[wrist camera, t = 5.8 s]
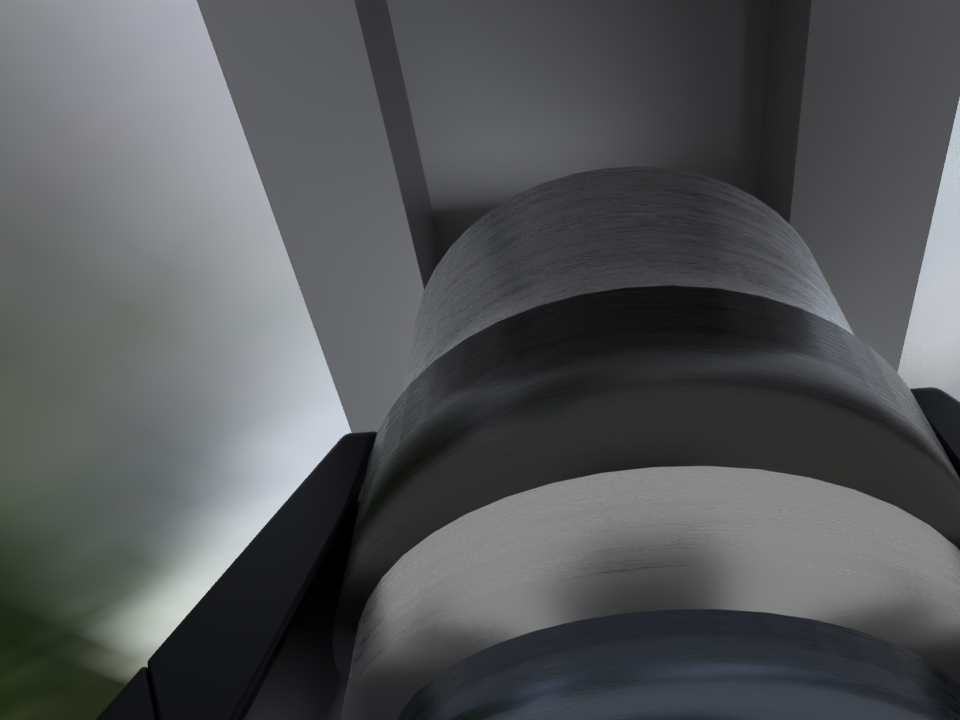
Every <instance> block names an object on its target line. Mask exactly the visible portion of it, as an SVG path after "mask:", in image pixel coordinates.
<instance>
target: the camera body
mask: <svg viewBox="0 0 960 720" xmlns="http://www.w3.org/2000/svg"><path fill="white" fill-rule="evenodd" d="M197 2H198V5H199V8H200V11H201V13H202V16H203V19H204V22H205V24H206V27H207V30H208V33H209V36H210V38H211V41H212V44H213V47H214V50H215V52H216V55H217V58H218V61H219V64H220V66H221V69H222V72H223V75H224V77H225V80H226V83H227V86H228V89H229V91H230V94H231V97H232V100H233V103H234V105H235V108H236V111H237V114H238V116H239V119H240V122H241V125H242V128H243V130H244V133H245V136H246V139H247V142H248V144H249V147H250V150H251V153H252V155H253V158H254V161H255V164H256V167H257V169H258V172H259V175H260V178H261V181H262V183H263V186H264V189H265V192H266V194H267V197H268V200H269V203H270V206H271V208H272V211H273V214H274V217H275V220H276V222H277V225H278V228H279V231H280V234H281V236H282V239H283V242H284V245H285V247H286V250H287V253H288V256H289V259H290V261H291V264H292V267H293V270H294V273H295V275H296V278H297V281H298V284H299V286H300V289H301V292H302V295H303V298H304V300H305V303H306V306H307V309H308V312H309V314H310V317H311V320H312V323H313V325H314V328H315V331H316V334H317V337H318V339H319V342H320V345H321V348H322V351H323V353H324V356H325V359H326V362H327V364H328V367H329V370H330V373H331V376H332V378H333V381H334V384H335V387H336V390H337V392H338V395H339V398H340V401H341V404H342V406H343V409H344V412H345V415H346V417H347V420H348V423H349V426H350V429H351V431H352V433H358V432H371V431H375V432H378V431H379V429H380V427H381V426H382V424H383V422H384V420H385V418H386V416H387V414H388V413H389V411H390V409H391V407H392V406H393V405H394V404H395V402H396V401H397V400H398V398H399V397H400V396H401V395H402V392H403V387H404V381H405V376H406V371H407V365H408V360H409V355H410V350H411V344H412V339H413V334H414V329H415V323H416V318H417V313H418V308H419V305H420V302H421V299H422V296H423V293H424V290H425V287H426V285H427V283H428V281H429V280H430V278H431V276H432V274H433V272H434V270H435V268H436V266H437V265H438V263H439V262H440V261H441V259H442V258H443V256H444V255H445V254H446V252H447V251H448V250H449V248H450V247H451V246H452V245H453V244H454V243H455V242H456V240H457V239H458V238H459V237H460V236H461V235H462V234H463V233H464V232H465V231H466V230H467V229H468V228H469V227H470V226H472V225H473V224H474V223H475V222H477V221H478V220H479V219H480V218H482V217H483V216H484V215H485V214H487V213H488V212H489V211H490V210H492V209H494V208H495V207H497V206H499V205H500V204H502V203H504V202H505V201H507V200H509V199H510V198H512V197H514V196H515V195H517V194H520V193H522V192H524V191H527V190H529V189H531V188H533V187H536V186H538V185H540V184H542V183H545V182H548V181H552V180H555V179H558V178H561V177H565V176H568V175H571V174H575V173H581V172H586V171H592V170H597V169H603V168H615V167H632V166H641V167H657V168H670V169H675V170H681V171H686V172H691V173H697V174H701V175H704V176H707V177H710V178H713V179H716V180H719V181H722V182H725V183H728V184H730V185H732V186H734V187H736V188H738V189H740V190H742V191H744V192H746V193H748V194H750V195H752V196H754V197H755V198H757V199H758V200H760V201H761V202H763V203H764V204H766V205H767V206H769V207H770V208H772V209H773V210H774V211H776V212H777V213H778V214H779V215H780V216H781V217H782V218H783V219H784V220H785V221H786V222H787V223H788V224H790V225H791V226H792V227H793V228H794V229H795V231H796V232H797V233H798V235H799V236H800V237H801V238H802V240H803V241H804V242H805V244H806V245H807V246H808V248H809V249H810V251H811V253H812V255H813V257H814V259H815V261H816V263H817V265H818V267H819V268H820V270H821V272H822V274H823V276H824V278H825V280H826V282H827V284H828V286H829V288H830V290H831V292H832V293H833V295H834V297H835V299H836V301H837V303H838V305H839V307H840V309H841V311H842V313H843V315H844V317H845V319H846V320H847V322H848V324H849V326H850V328H851V330H852V332H853V334H854V336H856V337H857V338H859V339H860V340H862V341H863V342H865V343H866V344H868V345H869V346H870V347H871V348H872V349H873V350H875V351H876V352H877V353H878V354H879V355H880V356H881V357H882V358H883V359H884V360H886V361H887V362H888V363H889V364H890V365H891V366H892V367H893V368H894V369H895V371H896V372H898V367H899V363H900V358H901V354H902V349H903V345H904V340H905V336H906V332H907V327H908V323H909V318H910V314H911V309H912V305H913V301H914V296H915V292H916V287H917V283H918V278H919V274H920V270H921V265H922V261H923V256H924V252H925V247H926V243H927V238H928V234H929V230H930V225H931V221H932V216H933V212H934V207H935V203H936V199H937V194H938V190H939V185H940V181H941V176H942V172H943V168H944V163H945V159H946V154H947V150H948V145H949V141H950V136H951V132H952V128H953V123H954V119H955V114H956V110H957V105H958V101H959V97H960V0H197Z"/></svg>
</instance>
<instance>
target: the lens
mask: <svg viewBox="0 0 960 720" xmlns="http://www.w3.org/2000/svg"><path fill="white" fill-rule="evenodd" d="M332 644H333V651H334V658H335V665H336V668H337V670H338V673H339V676H340V678H341V681H342V683H343V686H344V688H345V689H346V693H345V698H344V703H343V709H342V714H341V720H960V478H959V476H958V474H957V472H956V471H955V469H954V467H953V465H952V463H951V462H950V460H949V458H948V456H947V454H946V453H945V451H944V449H943V447H942V446H941V444H940V442H939V440H938V438H937V437H936V435H935V433H934V431H933V429H932V428H931V426H930V424H929V422H928V421H927V419H926V417H925V415H924V413H923V412H922V410H921V408H920V406H919V404H918V403H917V401H916V399H915V397H914V396H913V394H912V392H911V390H910V389H909V388H908V387H907V385H906V384H905V383H904V381H903V380H902V379H901V377H900V376H899V375H898V373H897V372H896V371H895V369H894V368H893V367H892V366H891V365H890V364H889V363H888V362H887V361H886V360H884V359H883V358H882V357H881V356H880V355H879V354H878V353H877V352H876V351H875V350H873V349H872V348H871V347H870V346H869V345H868V344H866V343H865V342H863V341H862V340H860V339H859V338H857V337H856V336H854V334H853V332H852V330H851V328H850V326H849V324H848V322H847V320H846V319H845V317H844V315H843V313H842V311H841V309H840V307H839V305H838V303H837V301H836V299H835V297H834V295H833V293H832V292H831V290H830V288H829V286H828V284H827V282H826V280H825V278H824V276H823V274H822V272H821V270H820V268H819V267H818V265H817V263H816V261H815V259H814V257H813V255H812V253H811V251H810V249H809V248H808V246H807V245H806V244H805V242H804V241H803V240H802V238H801V237H800V236H799V235H798V233H797V232H796V231H795V229H794V228H793V227H792V226H791V225H790V224H788V223H787V222H786V221H785V220H784V219H783V218H782V217H781V216H780V215H779V214H778V213H777V212H776V211H774V210H773V209H772V208H770V207H769V206H767V205H766V204H764V203H763V202H761V201H760V200H758V199H757V198H755V197H754V196H752V195H750V194H748V193H746V192H744V191H742V190H740V189H738V188H736V187H734V186H732V185H730V184H728V183H725V182H722V181H719V180H716V179H713V178H710V177H707V176H704V175H701V174H697V173H691V172H686V171H681V170H675V169H670V168H657V167H641V166H632V167H615V168H603V169H597V170H592V171H586V172H581V173H575V174H571V175H568V176H565V177H561V178H558V179H555V180H552V181H548V182H545V183H542V184H540V185H538V186H536V187H533V188H531V189H529V190H527V191H524V192H522V193H520V194H517V195H515V196H514V197H512V198H510V199H509V200H507V201H505V202H504V203H502V204H500V205H499V206H497V207H495V208H494V209H492V210H490V211H489V212H488V213H487V214H485V215H484V216H483V217H482V218H480V219H479V220H478V221H477V222H475V223H474V224H473V225H472V226H470V227H469V228H468V229H467V230H466V231H465V232H464V233H463V234H462V235H461V236H460V237H459V238H458V239H457V240H456V242H455V243H454V244H453V245H452V246H451V247H450V248H449V250H448V251H447V252H446V254H445V255H444V256H443V258H442V259H441V261H440V262H439V263H438V265H437V266H436V268H435V270H434V272H433V274H432V276H431V278H430V280H429V281H428V283H427V285H426V287H425V290H424V293H423V296H422V299H421V302H420V305H419V308H418V313H417V318H416V323H415V329H414V334H413V339H412V344H411V350H410V355H409V360H408V365H407V371H406V376H405V381H404V387H403V392H402V395H401V396H400V397H399V398H398V400H397V401H396V402H395V404H394V405H393V406H392V407H391V409H390V411H389V413H388V414H387V416H386V418H385V420H384V422H383V424H382V426H381V427H380V429H379V431H378V433H377V436H376V439H375V442H374V445H373V448H372V451H371V454H370V458H369V462H368V467H367V471H366V476H365V481H364V485H363V490H362V494H361V499H360V504H359V508H358V513H357V517H356V522H355V527H354V531H353V536H352V540H351V545H350V550H349V554H348V559H347V563H346V568H345V573H344V577H343V582H342V586H341V591H340V596H339V600H338V605H337V609H336V614H335V620H334V629H333V639H332Z"/></svg>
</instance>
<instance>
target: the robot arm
mask: <svg viewBox="0 0 960 720" xmlns="http://www.w3.org/2000/svg"><path fill="white" fill-rule="evenodd" d="M910 390H911V392H912V394H913V396H914V397H915V399H916V401H917V403H918V404H919V406H920V408H921V410H922V412H923V413H924V415H925V417H926V419H927V421H928V422H929V424H930V426H931V428H932V429H933V431H934V433H935V435H936V437H937V438H938V440H939V442H940V444H941V446H942V447H943V449H944V451H945V453H946V454H947V456H948V458H949V460H950V462H951V463H952V465H953V467H954V469H955V471H956V472H957V474H958V476H959V478H960V402H959V401H958V400H956V399H955V398H953V397H952V396H950V395H949V394H947V393H946V392H944V391H942V390H940V389H938V388H932V387H928V388H915V389H910ZM377 433H378V432H375V431H371V432H358V433H349V434H346V435H345V436H343V437H342V438H341V439H340V440H339V441H338V442H337V444H336V445H335V446H334V447H333V448H332V449H331V450H330V452H329V453H328V454H327V455H326V456H325V457H324V459H323V460H322V461H321V462H320V463H319V464H318V465H317V467H316V468H315V469H314V470H313V471H312V472H311V474H310V475H309V476H308V477H307V478H306V479H305V480H304V482H303V483H302V484H301V485H300V486H299V487H298V488H297V490H296V491H295V492H294V493H293V494H292V495H291V497H290V498H289V499H288V500H287V501H286V502H285V503H284V505H283V506H282V507H281V508H280V509H279V510H278V512H277V513H276V514H275V515H274V516H273V517H272V518H271V520H270V521H269V522H268V523H267V524H266V525H265V526H264V528H263V529H262V530H261V531H260V532H259V533H258V535H257V536H256V537H255V538H254V539H253V540H252V541H251V543H250V544H249V545H248V546H247V547H246V548H245V549H244V551H243V552H242V553H241V554H240V555H239V556H238V558H237V559H236V560H235V561H234V562H233V563H232V564H231V566H230V567H229V568H228V569H227V570H226V571H225V573H224V574H223V575H222V576H221V577H220V578H219V579H218V581H217V582H216V583H215V584H214V585H213V586H212V587H211V589H210V590H209V591H208V592H207V593H206V594H205V596H204V597H203V598H202V599H201V600H200V601H199V602H198V604H197V605H196V606H195V607H194V608H193V609H192V611H191V612H190V613H189V614H188V615H187V616H186V617H185V619H184V620H183V621H182V622H181V623H180V624H179V625H178V627H177V628H176V629H175V630H174V631H173V632H172V634H171V635H170V636H169V637H168V638H167V639H166V640H165V642H164V643H163V644H162V645H161V646H160V647H159V649H158V650H157V651H156V652H155V653H154V654H153V655H152V657H151V658H150V659H149V660H148V667H142V668H141V669H140V670H139V671H138V672H137V673H136V675H135V676H134V677H133V678H132V679H131V680H130V682H129V683H128V684H127V685H126V686H125V687H124V688H123V690H122V691H121V692H120V693H119V694H118V695H117V696H116V698H115V699H114V700H113V701H112V702H111V703H110V704H109V705H108V706H107V707H106V709H105V710H104V711H103V712H102V713H101V714H100V715H99V716H98V717H97V719H96V720H341V714H342V709H343V703H344V698H345V693H346V689H345V688H344V686H343V683H342V681H341V678H340V676H339V673H338V670H337V668H336V665H335V658H334V651H333V644H332V639H333V629H334V620H335V614H336V609H337V605H338V600H339V596H340V591H341V586H342V582H343V577H344V573H345V568H346V563H347V559H348V554H349V550H350V545H351V540H352V536H353V531H354V527H355V522H356V517H357V513H358V508H359V504H360V499H361V494H362V490H363V485H364V481H365V476H366V471H367V467H368V462H369V458H370V454H371V451H372V448H373V445H374V442H375V439H376V436H377Z"/></svg>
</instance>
